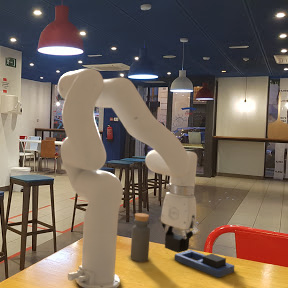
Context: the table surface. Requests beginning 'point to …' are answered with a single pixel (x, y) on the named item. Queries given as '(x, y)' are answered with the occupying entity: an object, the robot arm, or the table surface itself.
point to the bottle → (140, 238)
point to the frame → (185, 259)
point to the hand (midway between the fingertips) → (176, 247)
